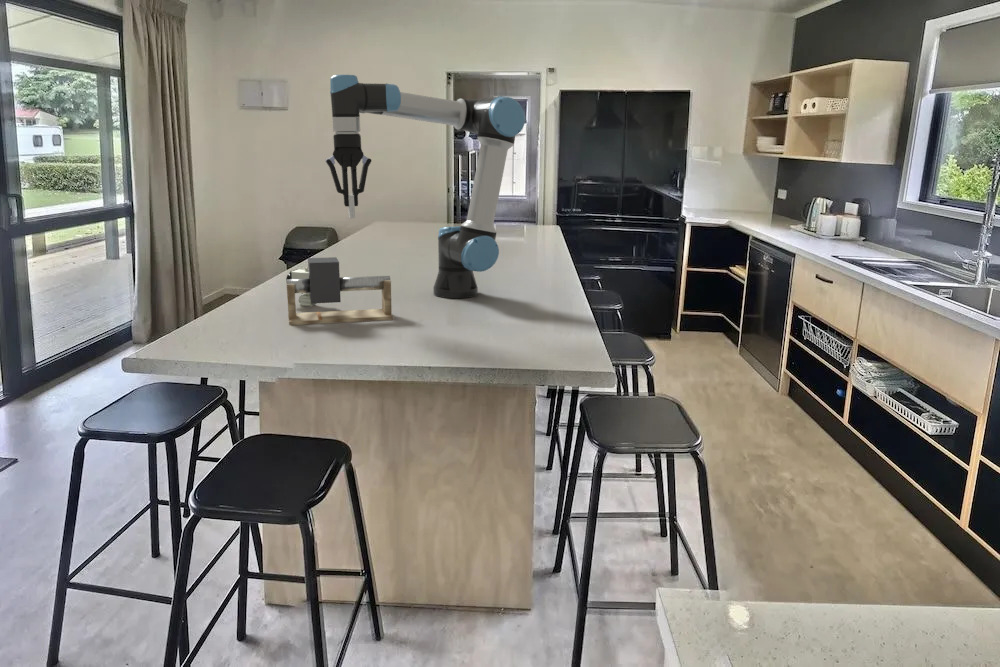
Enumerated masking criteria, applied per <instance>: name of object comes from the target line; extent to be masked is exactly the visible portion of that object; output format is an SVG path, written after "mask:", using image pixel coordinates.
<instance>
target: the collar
mask: <svg viewBox="0 0 1000 667" xmlns="http://www.w3.org/2000/svg"><path fill="white" fill-rule="evenodd" d="M307 266H308V267H307V268H308V270H309V279H310V288H311V293H310V300H311V303H312V304H314V303H317V304H329V303H332V304H333V303H341V302H342V300H341V291H340V277H341V275H340V261H339V259H338V258H337V257H336V256H335V257H334V256H333V257H332V256H331V257H308V258H307Z"/></svg>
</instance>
